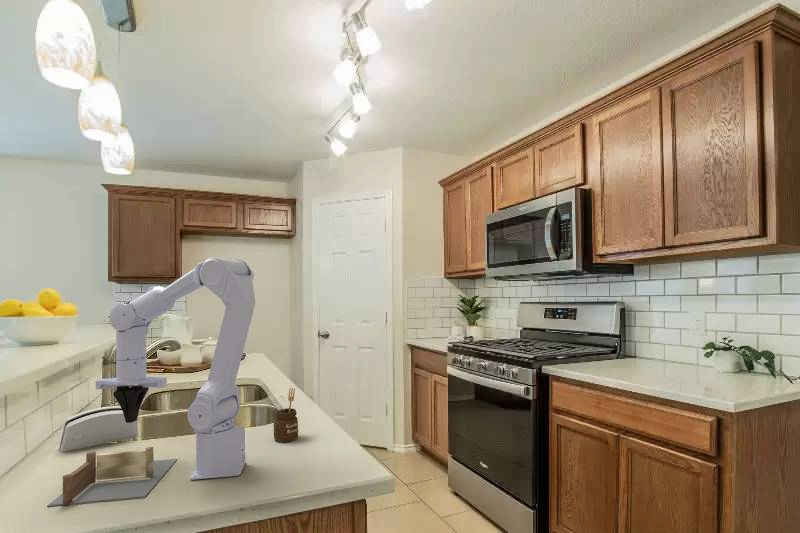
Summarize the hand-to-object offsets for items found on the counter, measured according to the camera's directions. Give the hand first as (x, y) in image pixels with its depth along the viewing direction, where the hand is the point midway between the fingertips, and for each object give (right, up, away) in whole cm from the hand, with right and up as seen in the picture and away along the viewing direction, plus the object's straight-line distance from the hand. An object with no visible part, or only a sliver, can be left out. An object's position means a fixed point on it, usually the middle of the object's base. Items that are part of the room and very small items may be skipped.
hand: (131, 421), depth 101 cm
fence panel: (+4, -8, -9) cm, 13 cm away
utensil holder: (+30, -10, +15) cm, 35 cm away
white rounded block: (-17, -11, +16) cm, 26 cm away
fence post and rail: (-2, -9, -14) cm, 17 cm away
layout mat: (+3, -9, -9) cm, 13 cm away
